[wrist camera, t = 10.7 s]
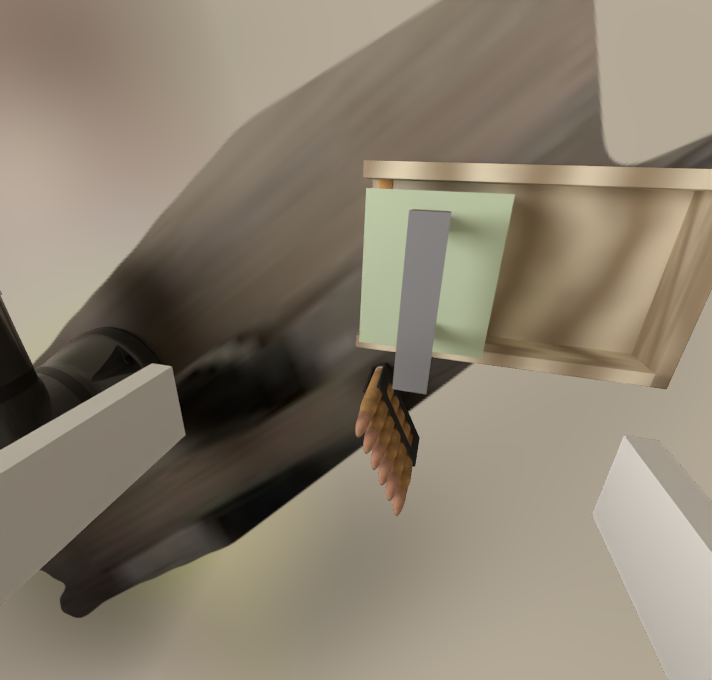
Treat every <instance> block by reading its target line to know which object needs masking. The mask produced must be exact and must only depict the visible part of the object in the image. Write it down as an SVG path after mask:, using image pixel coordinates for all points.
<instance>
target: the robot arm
mask: <svg viewBox="0 0 712 680" xmlns="http://www.w3.org/2000/svg"><path fill="white" fill-rule="evenodd" d="M0 295H2V293H1V291H0ZM184 436H185V430H184V425H183V420H182V414H181V409H180V404H179V399H178V394H177V389H176V384H175V379H174V374H173V369H172V366H166V365H161V364H160V362H159V361H158V359H157V358H156V357H155V355H154V354H153V353H152V352H151V351H150V350H149V349H148V348H147V347H146V346H145V345H144V344H143V343H142V342H141V341H139V340H138V339H137V338H135V337H134V336H132V335H130V334H128V333H126V332H124V331H122V330H119V329H115V328H109V327H101V328H96V329H93V330H91V331H88V332H86V333H83V334H80V335H79V336H77V337H75V338H74V339H72V340H71V341H70V342H69V343H68V344H67V345H65V346H64V347H63V348H62V349H61V350H59V351H58V352H57V353H56V354H55V355H53V356H52V357H51V358H50V359H49V360H48V361H46V362H45V363H44V364H43V365H41V366H39V367H37V368H35V369H34V367H33V365H32V363H31V360H30V358H29V356H28V354H27V352H26V350H25V348H24V346H23V344H22V342H21V339H20V337H19V335H18V333H17V331H16V329H15V327H14V325H13V322H12V320H11V318H10V316H9V314H8V311H7V309H6V307H5V305H4V303H3V300H2V298H1V296H0V606H1V605H2V604H3V603H4V602H5V601H6V600H7V599H8V598H9V597H10V596H11V595H12V594H13V593H15V592H16V591H17V590H18V589H19V588H20V587H21V586H22V585H23V584H24V583H25V582H27V580H29V579H30V578H31V577H32V576H33V575H34V574H35V573H36V572H37V571H39V570H40V569H41V568H42V567H43V566H44V565H45V564H46V563H47V562H48V561H49V560H50V559H52V558H53V557H54V556H55V555H56V554H57V553H58V552H59V551H60V550H61V549H62V548H63V547H65V546H66V545H67V544H68V543H69V542H70V541H71V540H72V539H73V538H74V537H75V536H76V535H78V534H79V533H80V532H81V531H82V530H83V529H84V528H85V527H86V526H87V525H88V524H90V523H91V522H92V521H93V520H94V519H95V518H96V517H97V516H98V515H99V514H100V513H101V512H103V511H104V510H105V509H106V508H107V507H108V506H109V505H110V504H111V503H112V502H113V501H114V500H116V499H117V498H118V497H119V496H120V495H121V494H122V493H123V492H124V491H125V490H126V489H127V488H129V487H130V486H131V485H132V484H133V483H134V482H135V481H136V480H137V479H138V478H139V477H141V476H142V475H143V474H144V473H145V472H146V471H147V470H148V469H149V468H150V467H151V466H152V465H154V464H155V463H156V462H157V461H158V460H159V459H160V458H161V457H162V456H163V455H164V454H165V453H167V452H168V451H169V450H170V449H171V448H172V447H173V446H174V445H175V444H176V443H177V442H178V441H180V440H181V439H182V438H183V437H184ZM592 516H593V518H594V520H595V523H596V525H597V527H598V529H599V531H600V533H601V536H602V538H603V540H604V542H605V544H606V546H607V549H608V551H609V553H610V555H611V557H612V560H613V562H614V564H615V566H616V568H617V570H618V573H619V575H620V577H621V579H622V581H623V583H624V586H625V588H626V590H627V592H628V594H629V597H630V599H631V601H632V603H633V605H634V607H635V609H636V612H637V613H638V616H639V618H640V620H641V623H642V625H643V627H644V629H645V631H646V633H647V636H648V638H649V640H650V642H651V644H652V646H653V649H654V651H655V653H656V655H657V657H658V660H659V662H660V664H661V666H662V668H663V670H664V673H665V675H666V677H667V679H668V680H712V501H711V500H710V498H709V497H708V496H707V495H706V494H705V493H704V492H703V490H702V489H701V488H700V487H699V486H698V485H697V484H696V482H695V481H694V480H693V479H692V478H691V477H690V475H689V474H688V473H687V472H686V471H685V470H684V469H683V468H682V467H681V465H680V464H679V463H678V462H677V461H676V460H675V458H674V457H673V456H672V455H671V454H670V453H669V451H668V450H667V449H666V448H665V447H664V446H663V445H662V444H661V442H660V441H659V440H652V439H646V438H639V437H632V436H626V435H624V437H623V439H622V441H621V444H620V446H619V449H618V451H617V454H616V456H615V459H614V461H613V464H612V466H611V469H610V471H609V473H608V476H607V478H606V481H605V483H604V486H603V488H602V491H601V494H600V496H599V498H598V501H597V503H596V506H595V508H594V511H593V513H592Z"/></svg>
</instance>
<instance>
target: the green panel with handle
mask: <svg viewBox="0 0 712 680" xmlns="http://www.w3.org/2000/svg"><path fill="white" fill-rule="evenodd" d="M514 197H515V194H498V193H474V192H450V191H426V190H402V189H378V188H366V207H365V228H364V249H363V270H362V291H361V312H360V333H359V342H364V343H371V344H379V345H386V346H394V347H396V355H395V365H394V376H393V387H392V389H396V390H402V391H408V392H414V393H421V394H426V392H427V385H428V378H429V371H430V363H431V356H432V352H438V353H446V354H453V355H461V356H468V357H476V358H482V355H483V350H484V345H485V340H486V335H487V330H488V325H489V321H490V316H491V311H492V306H493V301H494V296H495V291H496V286H497V281H498V276H499V271H500V266H501V261H502V256H503V251H504V246H505V242H506V237H507V232H508V227H509V222H510V217H511V212H512V207H513V202H514Z"/></svg>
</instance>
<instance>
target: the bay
mask: <svg viewBox="0 0 712 680" xmlns="http://www.w3.org/2000/svg"><path fill="white" fill-rule="evenodd" d="M363 177H364V178H369V179H373V188H378V189H402V190H426V191H450V192H474V193H498V194H515V197H514V202H513V207H512V212H511V217H510V222H509V227H508V232H507V237H506V242H505V246H504V251H503V256H502V261H501V266H500V271H499V276H498V281H497V286H496V291H495V296H494V301H493V306H492V311H491V316H490V321H489V325H488V330H487V335H486V340H485V345H484V350H483V355H482V358H476V357H468V356H461V355H453V354H446V353H438V352H432V356H431V357H435V358H442V359H450V360H457V361H464V362H471V363H479V364H486V365H493V366H501V367H508V368H515V369H523V370H530V371H537V372H544V373H552V374H559V375H566V376H574V377H581V378H588V379H595V380H603V381H611V382H618V383H625V384H632V385H639V386H646V387H654V388H661V389H667V387H668V385H669V383H670V380H671V378H672V376H673V374H674V372H675V369H676V367H677V365H678V363H679V361H680V358H681V356H682V354H683V352H684V349H685V347H686V345H687V343H688V341H689V338H690V336H691V334H692V332H693V329H694V327H695V325H696V323H697V321H698V318H699V316H700V314H701V312H702V310H703V307H704V305H705V303H706V301H707V298H708V296H709V294H710V292H711V290H712V169H682V168H642V167H603V166H563V165H523V164H484V163H444V162H404V161H365V160H364V172H363ZM359 333H360V330H359V332H358V333H357V335H356V347H362V348H369V349H377V350H384V351H391V352H396V347H394V346H386V345H379V344H371V343H364V342H359Z"/></svg>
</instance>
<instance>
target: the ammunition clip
mask: <svg viewBox="0 0 712 680" xmlns="http://www.w3.org/2000/svg"><path fill="white" fill-rule="evenodd" d="M392 387H393V376H392V374H391V371H390V369H389V367H388V364H387V363H383V364H380V365H377V366H373V367H372V369H371V371H370V374H369V377H368V379H367V382H366V385H365V387H364V390H363V392H364V394H365V395H364V398H363V400H362V403H361V406H360V412H359V416H358V419H357V422H356V436H357V437H360V436H362V435H363V433H364V432H365V431H366V433H365V436H364V443H363V446H364V452H365V453H366V454H367V453H369V452H370V451H371V450H372V448H373V450H372V455H371V465H372V469H373V470H375V469H376V468H377V467H378V466H379V482H380V485H383V484H384V483H385V482H386V495H387V499H388V501H390V500H391V499H392V498H393V508H394V513H395V515H396V516H397V515H399V514H400V512H401V510H402V508H403V505H404V502H405V498H406V493H407V489H408V485H409V483H410V479H411V472H412V466H415V464H416V457H417V450H418V444H419V436H418V434H417V431H416V429H415V427H414V424H413V422H412V420H411V417H410V415H409V413H408V410H407V408H406V406H405V404H404V401H403V399H402V397H401V394H400V392H399V390H396V389H392Z"/></svg>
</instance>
